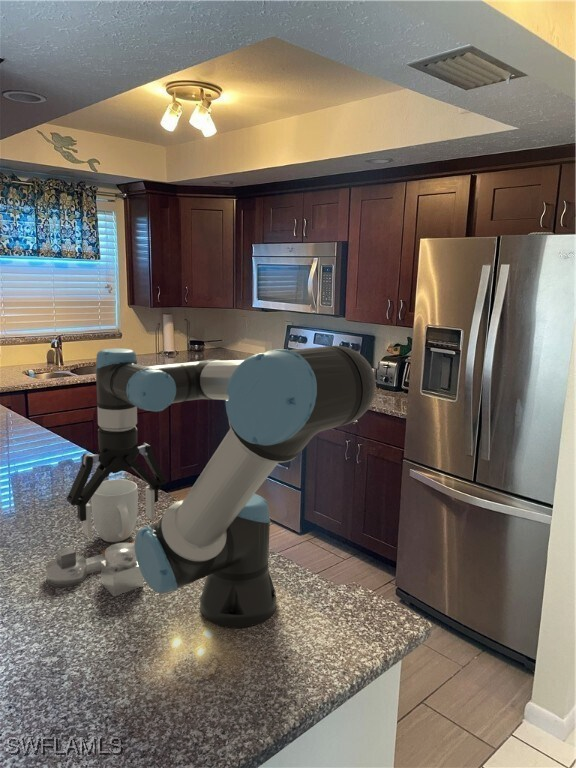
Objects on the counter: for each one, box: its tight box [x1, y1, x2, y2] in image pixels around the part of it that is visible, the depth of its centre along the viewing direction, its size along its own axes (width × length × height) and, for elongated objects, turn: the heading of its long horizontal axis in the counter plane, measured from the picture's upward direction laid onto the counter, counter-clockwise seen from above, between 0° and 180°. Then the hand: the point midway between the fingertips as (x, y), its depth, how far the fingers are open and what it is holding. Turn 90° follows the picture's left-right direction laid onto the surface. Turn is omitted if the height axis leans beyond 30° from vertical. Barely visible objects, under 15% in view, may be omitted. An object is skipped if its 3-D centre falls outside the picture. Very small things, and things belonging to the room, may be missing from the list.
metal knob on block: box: [100, 542, 144, 598], centre depth 117 cm, size 6×6×8 cm
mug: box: [90, 478, 139, 543], centre depth 137 cm, size 15×11×13 cm
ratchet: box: [45, 541, 135, 588], centre depth 124 cm, size 8×22×6 cm, turn 130°
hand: (119, 525), depth 115 cm, fingers open, 13 cm apart
